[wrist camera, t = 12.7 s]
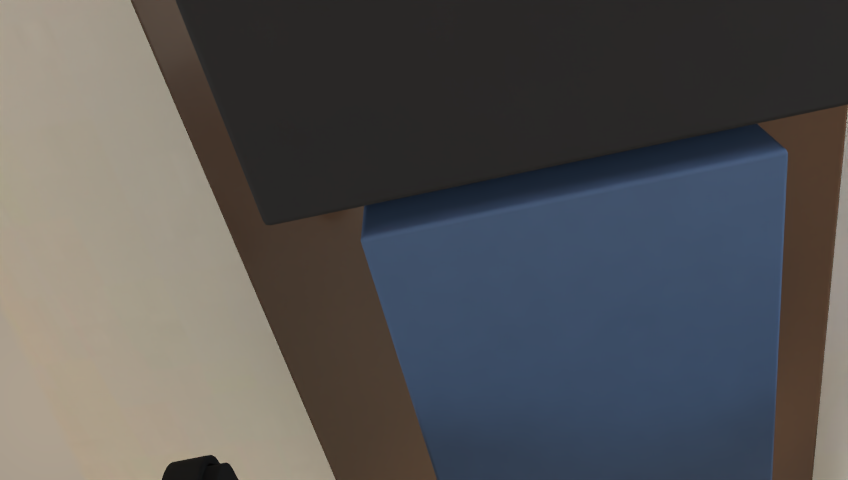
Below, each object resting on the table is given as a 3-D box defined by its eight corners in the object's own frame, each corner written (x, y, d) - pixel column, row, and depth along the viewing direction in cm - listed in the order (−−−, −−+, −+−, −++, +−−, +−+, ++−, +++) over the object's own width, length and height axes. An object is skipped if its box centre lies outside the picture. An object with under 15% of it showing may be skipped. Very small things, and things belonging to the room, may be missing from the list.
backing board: (447, 716, 26) (449, 746, 25) (55, -236, 11) (25, -240, 10) (778, 670, 25) (792, 701, 24) (863, -464, 10) (907, -491, 9)
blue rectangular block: (452, 380, 16) (468, 583, 12) (374, 95, 13) (359, 239, 8) (671, 339, 16) (770, 535, 11) (655, 31, 12) (790, 149, 8)
